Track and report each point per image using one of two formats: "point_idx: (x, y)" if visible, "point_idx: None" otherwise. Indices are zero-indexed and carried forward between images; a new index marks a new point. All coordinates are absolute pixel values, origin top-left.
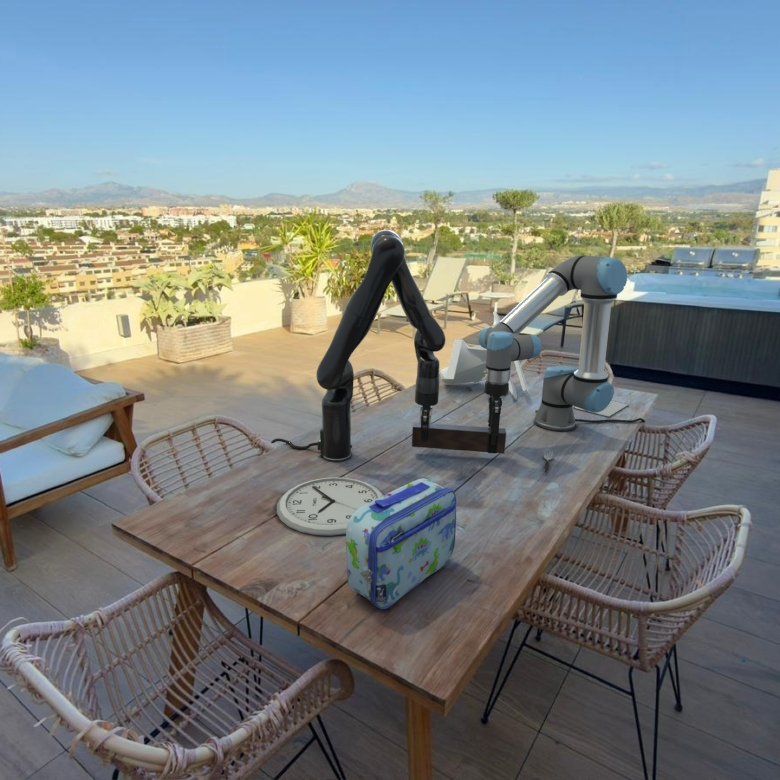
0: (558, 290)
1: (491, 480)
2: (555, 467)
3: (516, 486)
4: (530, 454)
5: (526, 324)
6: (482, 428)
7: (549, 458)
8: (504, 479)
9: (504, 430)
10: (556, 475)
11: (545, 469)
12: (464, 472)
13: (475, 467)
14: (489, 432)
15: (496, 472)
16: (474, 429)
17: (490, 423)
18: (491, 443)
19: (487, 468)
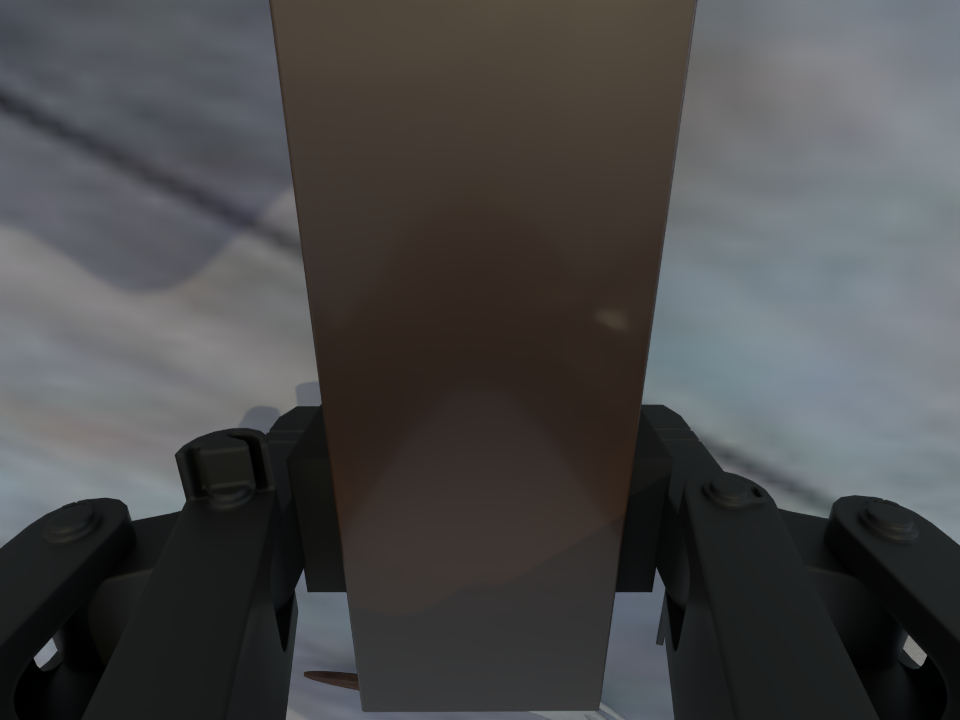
0: None
1: (58, 314)
2: (435, 716)
3: (43, 486)
4: (630, 616)
5: None
6: (537, 346)
7: (550, 711)
8: (125, 416)
9: (501, 699)
10: (317, 707)
11: (341, 682)
12: (118, 44)
13: (280, 175)
14: (333, 476)
15: (234, 364)
16: (427, 130)
17: (204, 688)
18: (277, 424)
19: (293, 292)
